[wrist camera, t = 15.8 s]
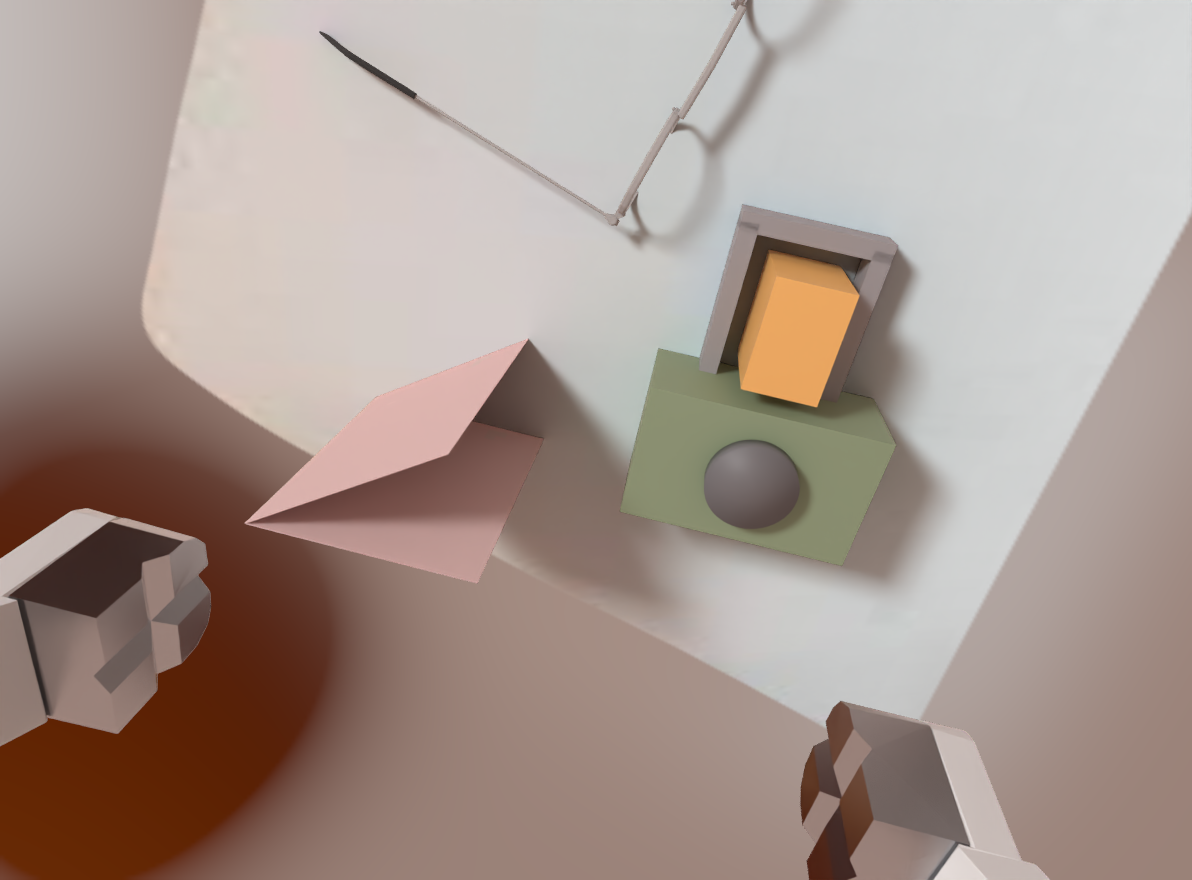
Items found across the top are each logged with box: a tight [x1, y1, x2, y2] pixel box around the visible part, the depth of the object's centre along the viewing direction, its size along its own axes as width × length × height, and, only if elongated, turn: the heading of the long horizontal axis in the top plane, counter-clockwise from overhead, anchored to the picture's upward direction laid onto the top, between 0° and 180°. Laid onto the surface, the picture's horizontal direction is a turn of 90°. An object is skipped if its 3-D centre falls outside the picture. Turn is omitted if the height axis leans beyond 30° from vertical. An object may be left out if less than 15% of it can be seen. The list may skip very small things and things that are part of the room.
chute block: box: [738, 250, 860, 407], centre depth 38 cm, size 6×4×6 cm, turn 169°
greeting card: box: [245, 339, 544, 583], centre depth 39 cm, size 11×7×15 cm, turn 79°
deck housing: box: [620, 204, 898, 566], centre depth 39 cm, size 17×13×7 cm
